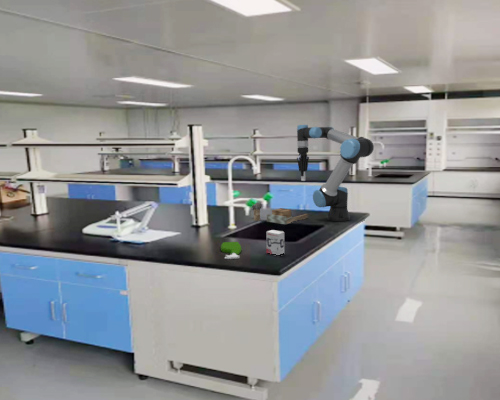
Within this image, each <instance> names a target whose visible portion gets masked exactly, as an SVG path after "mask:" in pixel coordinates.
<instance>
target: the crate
mask: <svg viewBox="0 0 500 400" xmlns="http://www.w3.org/2000/svg"><path fill="white" fill-rule="evenodd" d="M271 212H272V213H271V214H272V215H279V216H285V217H287V218H289V217H292V209H291V208H290V209H288V208H283V207H282V208H281V207H280V208H277V209H272V210H271Z"/></svg>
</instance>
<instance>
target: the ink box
mask: <svg viewBox="0 0 500 400" xmlns="http://www.w3.org/2000/svg"><path fill="white" fill-rule="evenodd" d="M265 235H266V241H265V242H266V251H265V252H266V254H267V253H270V254H269V255H271V254H276V255H280V254H283V253H284V254H285V232H284V231H283V230H275V229H271V230H270V229H269V230H267V231H266V234H265ZM276 255H275V256H276Z"/></svg>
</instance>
